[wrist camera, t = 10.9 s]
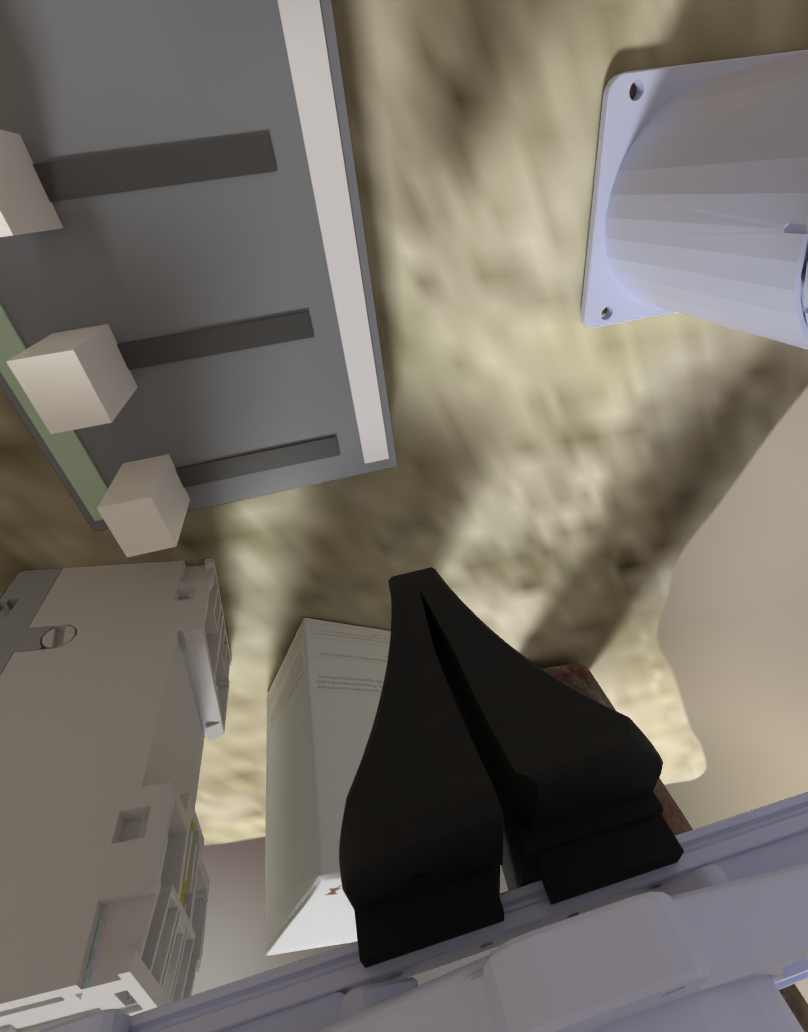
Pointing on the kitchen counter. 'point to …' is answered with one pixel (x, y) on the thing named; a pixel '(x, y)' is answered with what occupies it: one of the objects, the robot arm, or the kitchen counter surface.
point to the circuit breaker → (105, 785)
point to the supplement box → (316, 777)
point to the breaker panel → (184, 256)
